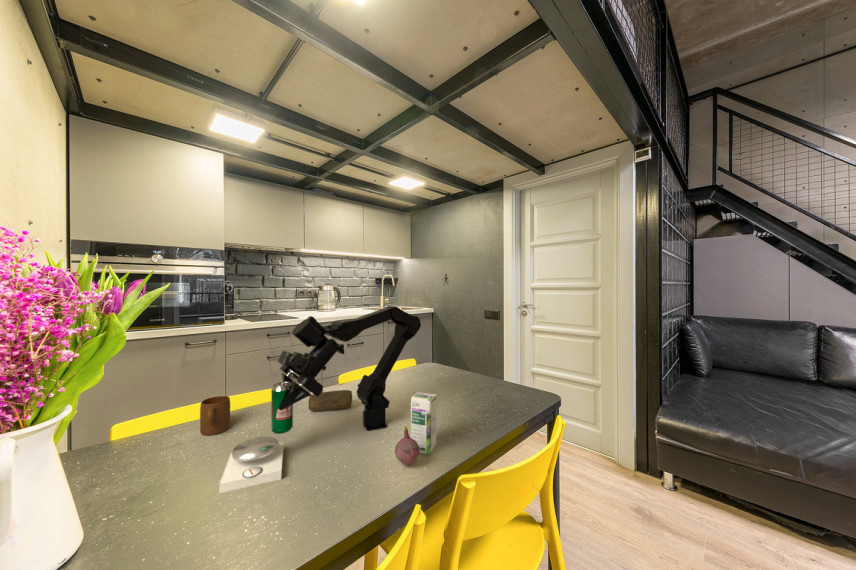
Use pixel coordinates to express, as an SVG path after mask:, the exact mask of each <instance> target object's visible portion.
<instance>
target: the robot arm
mask: <svg viewBox="0 0 856 570" xmlns="http://www.w3.org/2000/svg"><path fill="white" fill-rule="evenodd" d="M387 321H391V322H392V323H394V324H395V326H394V334H393V336H392V338H391V340H390V342H389V344H388V345H387V347H386V349H385V351H384V352H383V354H382V355H381V358H380V360H379V362H378V363H377V364H376V367H375V368H374V370H373V371H372V373H370V374H369V375H366V374H363V376H362V378H361V380H360V382H359V383H358V384H357V389H356V396H357V398H358V399H359V400H360V401H361V404H362V405H363V406H364V407H363V408H364V409H363V410H362V425H363V427H364V428H365V430H366V431H373V430H378V429H385V428H388V424H387V423H386V419H387V418H386V417H387V415H386V413H387V411H386V409H388V408H389V406H390V403H391V402H390V400H389V399H388V398H387V397H386V396H385V393H386V385H387V381H386V380H387V379H388V377H389V375H390V373H391V372H392V370H393V368H394V365H395V364H396V363H397V361H398V359H399V357H400V356H401V353H402V352H403V349H404V348H405V346H406V344H407V342H408V341H409V340H411V339H412V338H414V337H415V336H416V335H417V333H418V332H419V331H420V329H421V326H422V323H421V319H420V317H418V316H417V315H412V314H411V313H408V312H406V311H405V310H402V309H401V308H400V307H398V306H396V305H395V306H393V305H388V306H386V307H384V308H381V309H379V310H374V311H372V312H370V313H367V314H364V315H361V316H359V317H353V318H344V319H337V320H334V321H332V322H331V324H329V325H325V326H322V324H320V322H318V320H317V319H316V318H315V317H314V316H311V315H309V316H308V317H307V318H306V319H304V320H302V321H301V322H300V323H297V324H296V325H295V327H294V328H293V330H292V331H291V335H293V337H295V338H296V339H297V340H298V341H300V342H301V343H302V344H303V345H304V346H305V347H307V348H310V347H313V348H312V349H311V350H310V351H309V352H304V353H301V352H298V351H294V352H290V351H286V350H282V351H281V353H280V356H279V357H278V360H277V362H278V363H280V365H282V366H280V368H279V370H281V371H282V372H281V375H282V376H281V377H282V382H291V389H290V391H289V392H288V394H287V395H286V397H285V398H284V399H283V401H282V402H281V404H280V406H279V407H278V409H280V410H283V409H285V408H287V407H289V406H291V405H292V404H293V405H294V404H296V403H298V402H300V401H302V400H303V399H306V398H309V397H310V396H311V395H313V394H314V395H316V396H317V397H318V396H319V395H320V394H321V393H322V392H324V385H323V384H321V383H320V382H319V381H318V380H317V379H316V377H317V376H318V375H319V374H320V372H321V371H326V370H327V366H326V365H327V364H328V363H329V362H330V360H331V359H332V358H333V357H334V356H335V354H336V353H338V354H341V355H344V354H345V345H344V344H342V343H338V342H337V341H341V342H349V341H351V340H353V339H354V338H355V337H357V336H359V335H360V334H361V333H362V332H364V331H365V330H368V329H370V328H373V327H375V326H378V325H380V324H382V323H385V322H387ZM327 336H329V337H331V338H330V339H329V338H328V337H327ZM336 340H337V341H336ZM311 393H312V394H311Z"/></svg>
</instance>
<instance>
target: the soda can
mask: <svg viewBox="0 0 856 570" xmlns="http://www.w3.org/2000/svg"><path fill="white" fill-rule="evenodd" d="M290 389H291V382H283V381H280V382H276V383H274V384H273V385H272V389H271V405H270V407H271V414H270V415H271V424H270V425H271V428H270V429H271V432H272V433H273V434H277V435H282V434H285V433H288V432H289V431H291V430H292V429H293V426H294V404H292V405H291V406H289V407H287V408H285V409H283V410H280V409H278V407H279V406H280V404H281V402H282V401H283V399H284V398H285V397H286V395H287V394H288V392H289V391H290Z"/></svg>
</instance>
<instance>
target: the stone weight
mask: <svg viewBox="0 0 856 570" xmlns="http://www.w3.org/2000/svg"><path fill="white" fill-rule="evenodd" d="M352 401H353V392H352V390H351V389H350V390H346V389H342V390H329V391H322V393H321V394H320V395H319V396H318V397H317V396H316V395H314V394H313V393H312V394H311V396H308V404H307V405H308V410H309V411H314V412H327V411H328V410H329V411H335V410H336V411H338V410H344V409H349V408H351V407H352V403H353V402H352Z"/></svg>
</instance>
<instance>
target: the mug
mask: <svg viewBox="0 0 856 570" xmlns="http://www.w3.org/2000/svg"><path fill="white" fill-rule="evenodd" d="M230 399H231V398H230V397H229V396H227V395H218V396H212V397H208V398H206V399H205V398H204V399H203V400H202V401H201V402H200V410H199V417H200V418H199V425H200V426H199V428H200V429H199V431H200V434H201V435H202V436H215V435H219V434H222V433H224V432H226V431H228V429H229V428H230V426H231V400H230Z"/></svg>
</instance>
